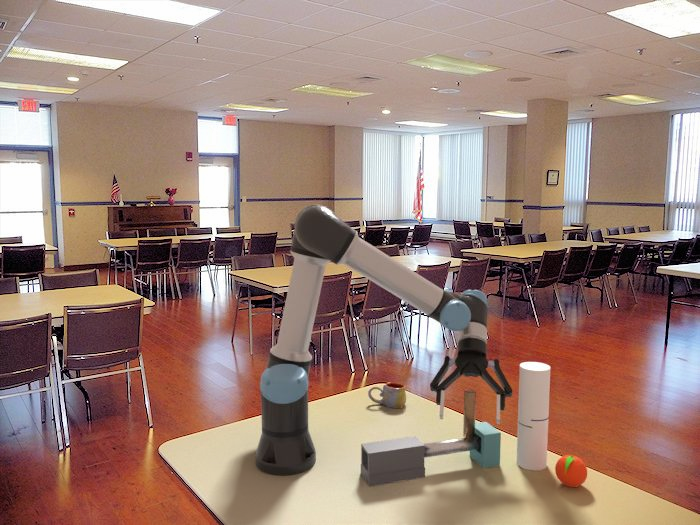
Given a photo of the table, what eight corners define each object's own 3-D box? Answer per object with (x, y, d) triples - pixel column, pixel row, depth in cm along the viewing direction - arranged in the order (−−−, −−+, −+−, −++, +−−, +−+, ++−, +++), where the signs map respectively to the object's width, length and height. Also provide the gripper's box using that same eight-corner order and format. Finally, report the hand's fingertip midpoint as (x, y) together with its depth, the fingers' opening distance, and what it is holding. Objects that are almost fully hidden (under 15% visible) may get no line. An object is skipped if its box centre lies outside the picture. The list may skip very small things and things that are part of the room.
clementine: (580, 498, 127) (581, 467, 126) (548, 488, 131) (550, 459, 130) (590, 483, 133) (591, 454, 133) (560, 474, 138) (561, 446, 137)
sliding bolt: (417, 454, 141) (417, 395, 139) (482, 444, 146) (484, 387, 144) (422, 460, 138) (423, 400, 136) (489, 450, 143) (490, 392, 141)
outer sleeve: (360, 473, 139) (360, 442, 138) (414, 464, 143) (414, 435, 142) (369, 486, 133) (369, 454, 132) (425, 477, 137) (425, 446, 136)
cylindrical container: (548, 471, 139) (552, 371, 136) (517, 469, 140) (521, 369, 137) (544, 458, 146) (548, 362, 143) (515, 455, 147) (518, 361, 144)
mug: (406, 401, 185) (406, 381, 185) (405, 409, 179) (405, 389, 178) (369, 399, 187) (369, 379, 186) (367, 407, 181) (367, 387, 180)
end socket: (469, 455, 148) (470, 423, 147) (485, 453, 149) (486, 421, 148) (483, 468, 141) (484, 435, 140) (499, 465, 142) (500, 432, 141)
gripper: (520, 353, 153) (521, 430, 140) (426, 347, 159) (419, 421, 146) (522, 338, 147) (523, 417, 135) (424, 333, 153) (417, 408, 140)
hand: (469, 419), depth 140 cm, fingers open, 13 cm apart
